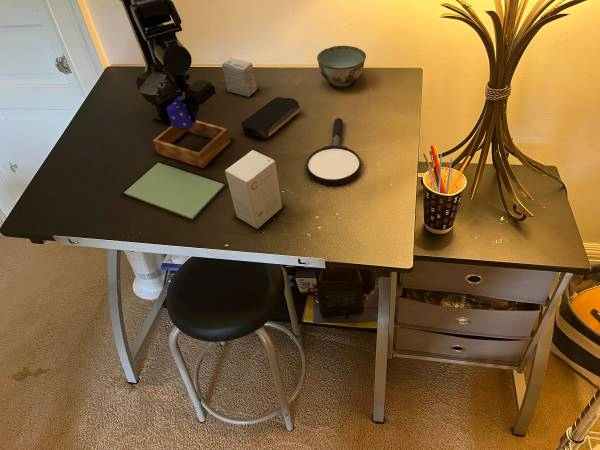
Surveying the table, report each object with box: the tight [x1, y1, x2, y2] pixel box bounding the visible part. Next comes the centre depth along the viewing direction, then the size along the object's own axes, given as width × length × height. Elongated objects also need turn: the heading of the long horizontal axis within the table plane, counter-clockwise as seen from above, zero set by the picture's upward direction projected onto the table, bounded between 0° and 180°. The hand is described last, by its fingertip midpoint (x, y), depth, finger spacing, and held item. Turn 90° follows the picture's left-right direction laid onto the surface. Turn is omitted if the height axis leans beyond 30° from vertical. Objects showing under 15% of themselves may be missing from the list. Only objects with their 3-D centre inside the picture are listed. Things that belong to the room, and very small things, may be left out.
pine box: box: [152, 120, 231, 169], centre depth 116 cm, size 15×12×4 cm
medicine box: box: [221, 57, 258, 98], centre depth 132 cm, size 8×4×9 cm, turn 58°
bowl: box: [316, 45, 367, 88], centre depth 131 cm, size 14×13×8 cm
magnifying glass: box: [306, 117, 362, 186], centre depth 110 cm, size 12×24×2 cm, turn 173°
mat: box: [123, 162, 226, 221], centre depth 106 cm, size 20×12×1 cm, turn 61°
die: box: [167, 97, 200, 129], centre depth 109 cm, size 5×5×5 cm
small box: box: [224, 149, 283, 230], centre depth 94 cm, size 8×6×13 cm
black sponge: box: [240, 96, 300, 139], centre depth 121 cm, size 16×8×4 cm, turn 144°
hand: (184, 118), depth 110 cm, fingers closed on die, 5 cm apart
